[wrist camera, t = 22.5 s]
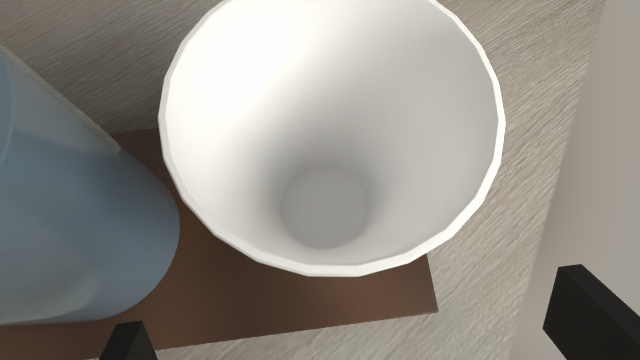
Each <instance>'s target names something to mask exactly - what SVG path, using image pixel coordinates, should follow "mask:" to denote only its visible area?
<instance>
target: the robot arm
mask: <svg viewBox="0 0 640 360" xmlns="http://www.w3.org/2000/svg"><path fill="white" fill-rule="evenodd" d="M543 330H544V331H545V332H546V334H547V335H548V336H549V337H550V339H551V340H552V341H553V343H554V344H555V345H556V346H557V348H558V349H559V350H560V351H561V353H562V354H563V355H564V357H565V358H566V359H567V360H640V316H638V315H637V314H636V313H635V312H634V311H633V310H632V309H631V308H629V307H628V306H627V305H626V304H625V303H624V302H623V301H622V300H621V299H620V298H618V297H617V296H616V295H615V294H614V293H613V292H612V291H611V290H610V289H608V288H607V287H606V286H605V285H604V284H603V283H602V282H601V281H600V280H598V279H597V278H596V277H595V276H594V275H593V274H592V273H591V272H590V271H588V270H587V269H586V268H585V267H584V266H583V265H582V264H579V265H571V266H563V267H558V271H557V275H556V279H555V283H554V286H553V290H552V294H551V298H550V302H549V306H548V310H547V313H546V317H545V321H544V325H543ZM99 360H158V359H157V356H156V354H155V351H154V349H153V346H152V344H151V341H150V339H149V336H148V334H147V331H146V329H145V326H144V324H143V321H134V322H126V323H118V324H116V326H115V328H114V330H113V332H112V334H111V336H110V338H109V340H108V342H107V344H106V346H105V348H104V350H103V352H102V354H101V356H100V358H99Z"/></svg>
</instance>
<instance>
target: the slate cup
mask: <svg viewBox="0 0 640 360" xmlns="http://www.w3.org/2000/svg"><path fill="white" fill-rule="evenodd" d="M179 233H180V220H179V213H178V208H177V205H176V202H175V199H174V197H173V195H172V193H171V191H170V190H169V188H168V187H167V186H166V184H165V183H164V182H163V181H162V180H161V179H160V178H159V177H158V176H157V175H156V174H155V173H154V172H152V171H151V170H150V169H149V168H148V167H147V166H145V165H144V164H143V163H142V162H141V161H139V160H138V159H137V158H136V157H135V156H134V155H132V154H131V153H130V152H129V151H128V150H126V149H125V148H124V147H123V146H122V145H121V144H119V143H118V142H117V141H116V140H115V139H114V138H112V137H111V136H110V135H109V134H108V133H106V132H105V131H104V130H103V129H102V128H101V127H99V126H98V125H97V124H96V123H95V122H93V121H92V120H91V119H90V118H89V117H88V116H86V115H85V114H84V113H83V112H82V111H80V110H79V109H78V108H77V107H76V106H75V105H73V104H72V103H71V102H70V101H69V100H68V99H66V98H65V97H64V96H63V95H62V94H60V93H59V92H58V91H57V90H56V89H55V88H53V87H52V86H51V85H50V84H49V83H47V82H46V81H45V80H44V79H43V78H42V77H40V76H39V75H38V74H37V73H36V72H34V71H33V70H32V69H31V68H30V67H29V66H27V65H26V64H25V63H24V62H23V61H22V60H20V59H19V58H18V57H17V56H16V55H14V54H13V53H12V52H11V51H10V50H9V49H7V48H6V47H5V46H4V45H3V44H1V43H0V327H2V326H19V325H36V324H53V323H70V322H86V321H96V320H101V319H105V318H108V317H111V316H114V315H117V314H119V313H121V312H123V311H125V310H127V309H129V308H130V307H132V306H134V305H135V304H137V303H138V302H139V301H141V300H142V299H143V298H144V297H146V296H147V295H148V294H149V293H150V292H151V291H152V290H153V289H154V288H155V287H156V286H157V284H158V283H159V282H160V281H161V279H162V278H163V276H164V275H165V273H166V272H167V270H168V268H169V266H170V264H171V262H172V260H173V258H174V255H175V252H176V249H177V245H178V240H179Z"/></svg>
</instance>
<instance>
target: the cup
mask: <svg viewBox="0 0 640 360" xmlns="http://www.w3.org/2000/svg"><path fill="white" fill-rule="evenodd" d="M158 125H159V132H160V139H161V146H162V154H163V160H164V162H165V165H166V167H167V169H168V171H169V173H170V175H171V177H172V179H173V181H174V184H175V186H176V188H177V190H178V192H179V194H180V196H181V198H182V200H183V202H184V203H185V204H186V205H187V206H188V207H189V208H190V209H191V210H192V212H193V213H194V214H195V215H196V216H197V217H198V218H199V219H200V220H201V221H202V223H203V224H204V225H205V226H206V227H207V228H208V229H209V230H210V231H211V233H212V234H213V235H214V236H216V237H217V238H219V239H221V240H222V241H224V242H226V243H227V244H229V245H230V246H232V247H234V248H235V249H237V250H239V251H240V252H242V253H243V254H245V255H247V256H248V257H250V258H252V259H253V260H255V261H256V262H259V263H263V264H266V265H270V266H273V267H277V268H280V269H284V270H288V271H291V272H295V273H298V274H302V275H305V276H324V277H359V276H363V275H367V274H371V273H374V272H378V271H382V270H385V269H389V268H393V267H397V266H400V265H404V264H408V263H410V262H412V261H413V260H415V259H417V258H418V257H420V256H422V255H423V254H425V253H427V252H428V251H430V250H432V249H433V248H435V247H437V246H438V245H440V244H442V243H443V242H445V241H447V240H448V239H450V238H451V237H452V236H453V235H454V234H455V233H456V232H457V231H458V230H459V229H460V227H461V226H462V225H463V224H464V223H465V222H466V221H467V220H468V219H469V217H470V216H471V215H472V214H473V213H474V212H475V211H476V210H477V209H478V207H479V206H480V205H481V204H482V203H483V201H484V198H485V196H486V194H487V192H488V190H489V188H490V185H491V183H492V181H493V179H494V177H495V175H496V172H497V170H498V168H499V166H500V163H501V155H502V148H503V140H504V132H505V125H506V122H505V116H504V110H503V104H502V98H501V92H500V86H499V82H498V79H497V77H496V75H495V73H494V71H493V69H492V67H491V65H490V62H489V60H488V58H487V56H486V54H485V52H484V50H483V48H482V46H481V45H480V44H479V42H478V41H477V40H476V39H475V38H474V36H473V35H472V34H471V33H470V32H469V30H468V29H467V28H466V27H465V26H464V24H463V23H462V22H461V21H460V20H459V18H458V17H457V16H456V15H454V14H453V13H452V12H450V11H449V10H448V9H446V8H445V7H444V6H442V5H441V4H440V3H438V2H437V1H436V0H223V1H222V2H220V3H219V4H218V5H216V6H215V7H213V8H212V9H211V10H209V11H208V12H207V13H206V14H205V15H204V16H203V17H202V18H201V20H200V21H199V22H198V23H197V24H196V25H195V27H194V28H193V29H192V30H191V31H190V32H189V34H188V35H187V36H186V37H185V38H184V39H183V41H182V42H181V44H180V46H179V48H178V50H177V52H176V54H175V57H174V59H173V61H172V63H171V65H170V67H169V69H168V71H167V73H166V75H165V78H164V82H163V88H162V94H161V100H160V107H159V113H158Z"/></svg>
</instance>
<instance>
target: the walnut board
mask: <svg viewBox="0 0 640 360" xmlns="http://www.w3.org/2000/svg"><path fill="white" fill-rule="evenodd" d="M108 134H109V135H110V136H111V137H112V138H114V139H115V140H116V141H117V142H118V143H119V144H121V145H122V146H123V147H124V148H125V149H126V150H128V151H129V152H130V153H131V154H132V155H134V156H135V157H136V158H137V159H138V160H139V161H141V162H142V163H143V164H144V165H145V166H147V167H148V168H149V169H150V170H151V171H152V172H154V173H155V174H156V175H157V176H158V177H159V178H160V179H161V180H162V181H163V182H164V183H165V184H166V186H167V187H168V188H169V190H170V191H171V193H172V195H173V197H174V199H175V202H176V205H177V208H178V213H179V220H180V233H179V240H178V245H177V249H176V252H175V255H174V258H173V260H172V262H171V264H170V266H169V268H168V270H167V272H166V273H165V275H164V276H163V278H162V279H161V281H160V282H159V283H158V284H157V286H156V287H155V288H154V289H153V290H152V291H151V292H150V293H149V294H148V295H147V296H146V297H144V298H143V299H142V300H141V301H139V302H138V303H137V304H135V305H134V306H132V307H130V308H129V309H127V310H125V311H123V312H121V313H119V314H117V315H114V316H111V317H108V318H105V319H101V320H96V321H86V322H70V323H53V324H36V325H19V326H2V327H0V360H86V359H93V358H100V356H101V354H102V352H103V350H104V348H105V346H106V344H107V342H108V340H109V338H110V336H111V334H112V332H113V330H114V328H115V326H116V324H118V323H126V322H134V321H143V324H144V326H145V329H146V331H147V334H148V336H149V339H150V341H151V344H152V346H153V349H154V350H160V349H168V348H175V347H183V346H190V345H198V344H205V343H213V342H220V341H228V340H235V339H243V338H250V337H258V336H265V335H273V334H280V333H288V332H295V331H303V330H310V329H318V328H325V327H333V326H340V325H348V324H355V323H363V322H370V321H378V320H385V319H393V318H400V317H408V316H415V315H423V314H430V313H438V307H437V302H436V297H435V292H434V288H433V283H432V278H431V273H430V269H429V264H428V259H427V254H426V253H425V254H423V255H422V256H420V257H418V258H417V259H415V260H413V261H412V262H410V263H408V264H404V265H400V266H397V267H393V268H389V269H385V270H382V271H378V272H374V273H371V274H367V275H363V276H359V277H324V276H305V275H302V274H298V273H295V272H291V271H288V270H284V269H280V268H277V267H273V266H270V265H266V264H263V263H259V262H256V261H255V260H253V259H252V258H250V257H248V256H247V255H245V254H243V253H242V252H240V251H239V250H237V249H235V248H234V247H232V246H230V245H229V244H227V243H226V242H224V241H222V240H221V239H219V238H217V237H216V236H214V235H213V234H212V233H211V231H210V230H209V229H208V228H207V227H206V226H205V225H204V224H203V223H202V221H201V220H200V219H199V218H198V217H197V216H196V215H195V214H194V213H193V212H192V210H191V209H190V208H189V207H188V206H187V205H186V204H185V203H184V202H183V200H182V198H181V196H180V194H179V192H178V190H177V188H176V186H175V184H174V181H173V179H172V177H171V175H170V173H169V171H168V169H167V167H166V165H165V162H164V160H163V154H162V146H161V139H160V132H159V128H157V129H147V130H137V131H127V132H117V133H108Z"/></svg>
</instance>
